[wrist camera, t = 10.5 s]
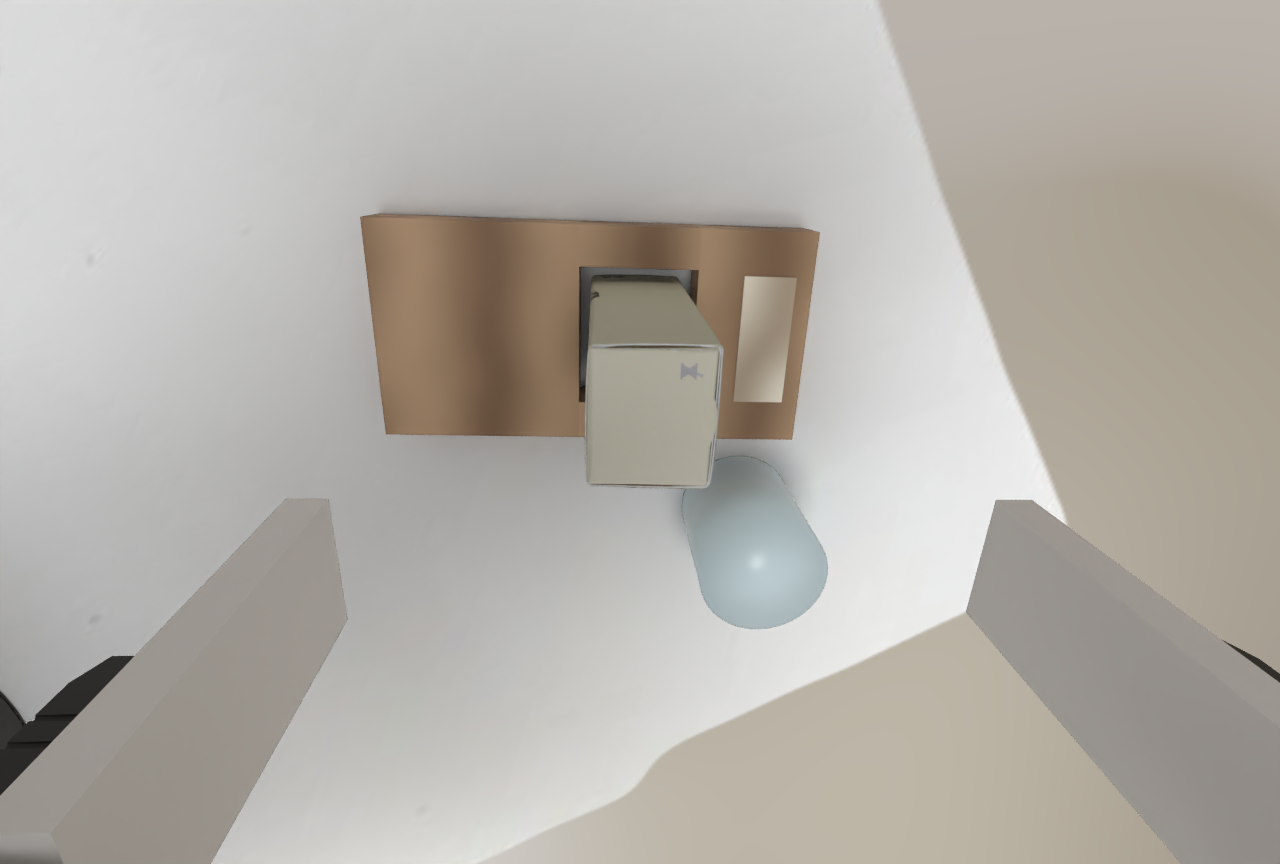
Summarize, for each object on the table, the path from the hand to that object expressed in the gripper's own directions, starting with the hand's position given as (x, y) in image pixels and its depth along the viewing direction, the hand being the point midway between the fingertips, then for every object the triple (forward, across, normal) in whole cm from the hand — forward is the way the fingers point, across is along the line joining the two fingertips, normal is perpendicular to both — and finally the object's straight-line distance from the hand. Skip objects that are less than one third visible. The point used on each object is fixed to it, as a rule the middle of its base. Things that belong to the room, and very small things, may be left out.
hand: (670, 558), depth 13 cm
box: (+21, 0, 0) cm, 21 cm away
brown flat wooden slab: (+21, -2, 0) cm, 21 cm away
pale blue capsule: (+21, +6, -10) cm, 24 cm away
